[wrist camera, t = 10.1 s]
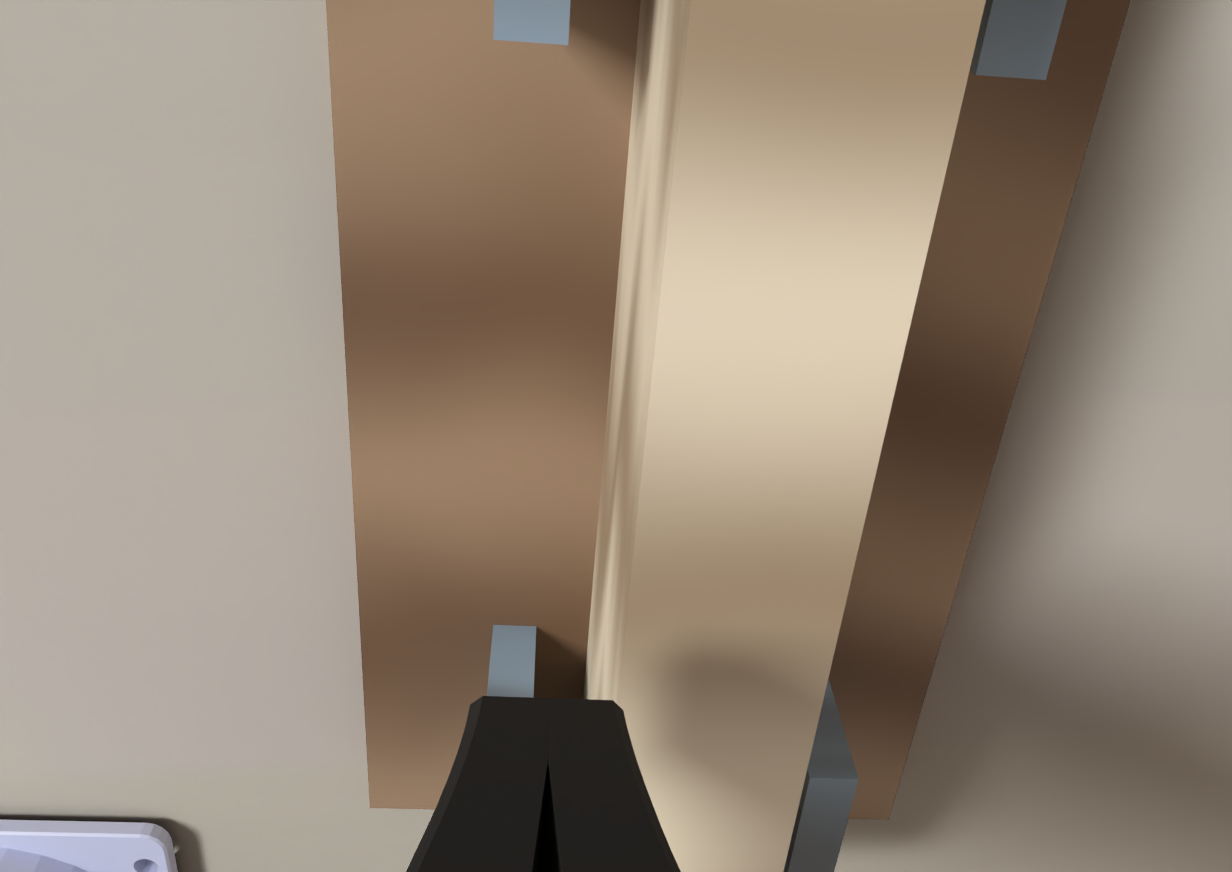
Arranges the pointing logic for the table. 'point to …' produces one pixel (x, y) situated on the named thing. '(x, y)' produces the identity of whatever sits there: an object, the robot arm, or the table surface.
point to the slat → (757, 380)
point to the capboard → (581, 360)
